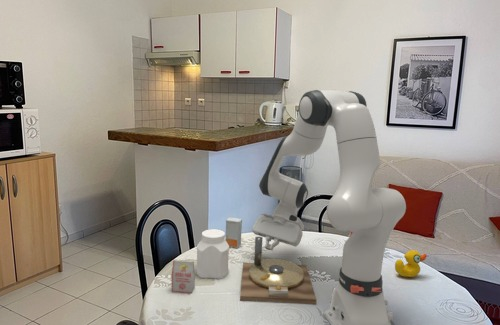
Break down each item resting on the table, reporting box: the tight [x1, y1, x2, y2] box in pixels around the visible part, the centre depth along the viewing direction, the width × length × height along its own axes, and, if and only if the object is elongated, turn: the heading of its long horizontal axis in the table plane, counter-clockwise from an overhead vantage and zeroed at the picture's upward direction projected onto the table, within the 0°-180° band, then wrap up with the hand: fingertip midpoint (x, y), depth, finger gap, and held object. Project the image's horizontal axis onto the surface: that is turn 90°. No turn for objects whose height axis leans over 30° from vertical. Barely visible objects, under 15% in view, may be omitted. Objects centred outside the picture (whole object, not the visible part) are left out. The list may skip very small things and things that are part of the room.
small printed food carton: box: [171, 260, 196, 294], centre depth 118 cm, size 4×7×10 cm, turn 85°
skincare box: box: [225, 216, 243, 249], centre depth 155 cm, size 6×4×12 cm
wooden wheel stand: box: [239, 262, 317, 305], centre depth 125 cm, size 24×24×4 cm
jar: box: [196, 228, 230, 280], centre depth 131 cm, size 12×10×15 cm
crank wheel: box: [249, 236, 304, 289], centre depth 126 cm, size 19×19×12 cm
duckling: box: [394, 249, 427, 278], centre depth 134 cm, size 11×5×10 cm, turn 96°
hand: (268, 249), depth 136 cm, fingers closed
